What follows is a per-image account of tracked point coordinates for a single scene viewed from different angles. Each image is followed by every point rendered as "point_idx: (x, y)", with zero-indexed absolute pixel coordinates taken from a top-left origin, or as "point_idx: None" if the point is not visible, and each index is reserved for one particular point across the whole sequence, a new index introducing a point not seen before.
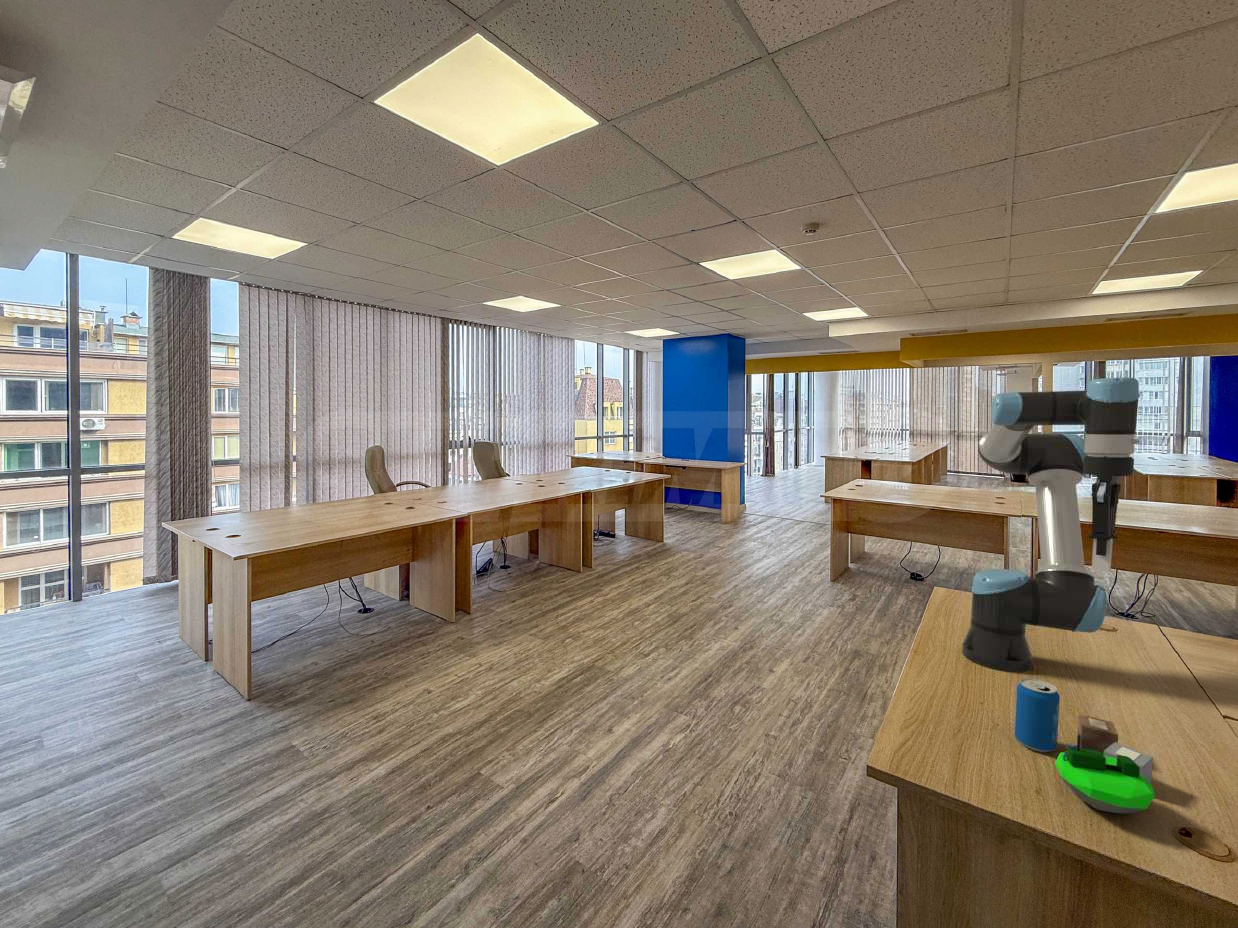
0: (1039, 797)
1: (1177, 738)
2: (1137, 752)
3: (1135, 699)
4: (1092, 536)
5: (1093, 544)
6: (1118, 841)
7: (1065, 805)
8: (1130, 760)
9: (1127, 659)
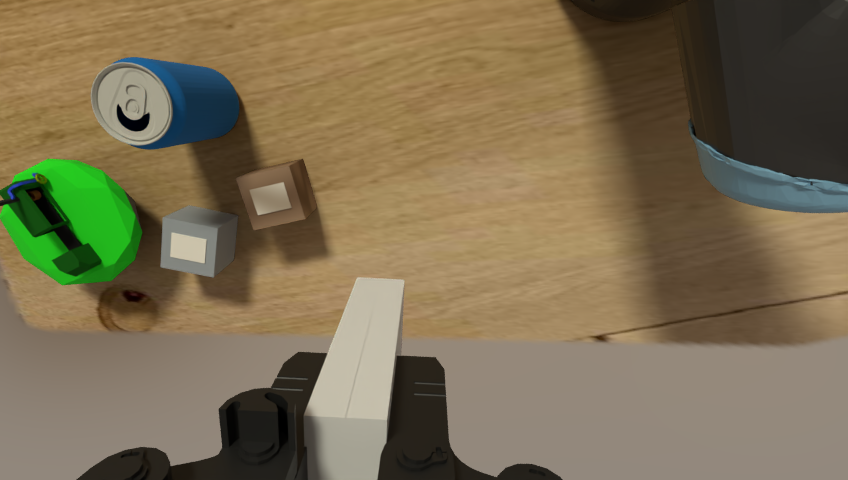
0: (34, 140)
1: (440, 284)
2: (209, 258)
3: (578, 223)
4: (125, 451)
5: (320, 374)
6: None
7: None
8: (69, 267)
9: None
